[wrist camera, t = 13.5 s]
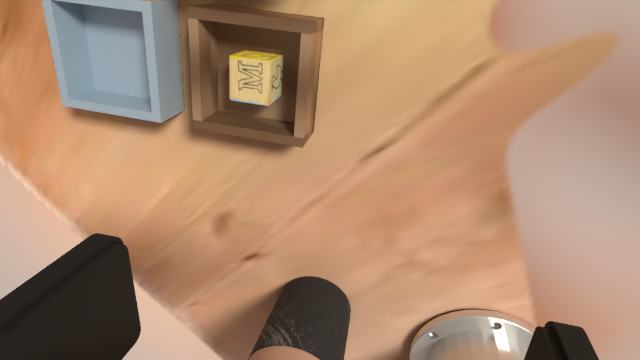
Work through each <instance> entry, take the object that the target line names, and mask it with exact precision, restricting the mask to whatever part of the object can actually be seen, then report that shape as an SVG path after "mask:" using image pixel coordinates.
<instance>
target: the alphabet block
mask: <svg viewBox="0 0 640 360" xmlns="http://www.w3.org/2000/svg"><path fill="white" fill-rule="evenodd" d="M282 76H283V55H280V54H272V53H265V52H257V51H249V50H245V51H241V52H238V53H235V54H232V55H230V56H229V98H230V100H232V101H237V102H244V103H251V104H256V105H263V106H269V105H271V104H272V103H273V102H275V101H276V100H277V99H279V98H280V97H281V93H282Z"/></svg>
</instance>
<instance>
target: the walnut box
mask: <svg viewBox="0 0 640 360" xmlns="http://www.w3.org/2000/svg"><path fill="white" fill-rule="evenodd" d="M187 10H188V31H189V52H190V73H191V93H192V114H193V129H199V130H204V131H210V132H216V133H222V134H227V135H233V136H239V137H244V138H250V139H256V140H262V141H267V142H273V143H279V144H285V145H290V146H296V147H302V148H303V146H304V145H305V143H306V142H307V140H308V139H309V137H310V136H311V135H312V133H313V132H314V121H315V111H316V100H317V89H318V79H319V68H320V58H321V47H322V37H323V26H324V18H319V17H311V16H303V15H295V14H287V13H279V12H272V11H264V10H256V9H248V8H240V7H232V6H224V5H216V4H206V5H197V6H187ZM245 50H249V51H257V52H265V53H272V54H280V55H283V76H282V93H281V97H280V98H279V99H277V100H276V101H275V102H273V103H272V104H271V105H269V106H263V105H256V104H251V103H244V102H237V101H232V100H230V98H229V56H230V55H232V54H235V53H238V52H241V51H245Z"/></svg>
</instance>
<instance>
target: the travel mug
mask: <svg viewBox="0 0 640 360" xmlns="http://www.w3.org/2000/svg"><path fill="white" fill-rule="evenodd" d="M350 312H351V310H350V304H349V301H348V298H347V297H346V295H345V294H344V292H343V291H342V290H341V289H340V288H339V287H337V286H336V285H335V284H333V283H331V282H329V281H327V280H325V279H322V278H318V277H300V278H297V279H294V280H292V281H291V282H289V283H288V284H287V285H286V286H285V287H284V288H283V290H282V292H281V294H280V296H279V298H278V300H277V302H276V304H275V306H274V308H273V310H272V312H271V314H270V316H269V318H268V320H267V322H266V324H265V326H264V328H263V330H262V332H261V334H260V336H259V338H258V340H257V343H256V345H255V347H254V349H253V351H252V353H251V355H250V357H249V359H248V360H344V354H345V348H346V341H347V335H348V328H349V321H350Z"/></svg>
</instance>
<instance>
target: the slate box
mask: <svg viewBox="0 0 640 360" xmlns="http://www.w3.org/2000/svg"><path fill="white" fill-rule="evenodd" d="M42 4H43V9H44V14H45V19H46V24H47V29H48V34H49V39H50V45H51V50H52V55H53V60H54V65H55V70H56V75H57V80H58V85H59V90H60V95H61V100H62V105H63V106H67V107H72V108H78V109H84V110H90V111H95V112H101V113H107V114H112V115H118V116H124V117H130V118H135V119H141V120H147V121H153V122H158V123H162V122H164V121H166V120H167V119H169V118H171V117H173V116H175V115H176V114H178V113H180V112H182V111H184V93H183V75H182V58H181V40H180V23H179V6H178V0H42Z"/></svg>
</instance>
